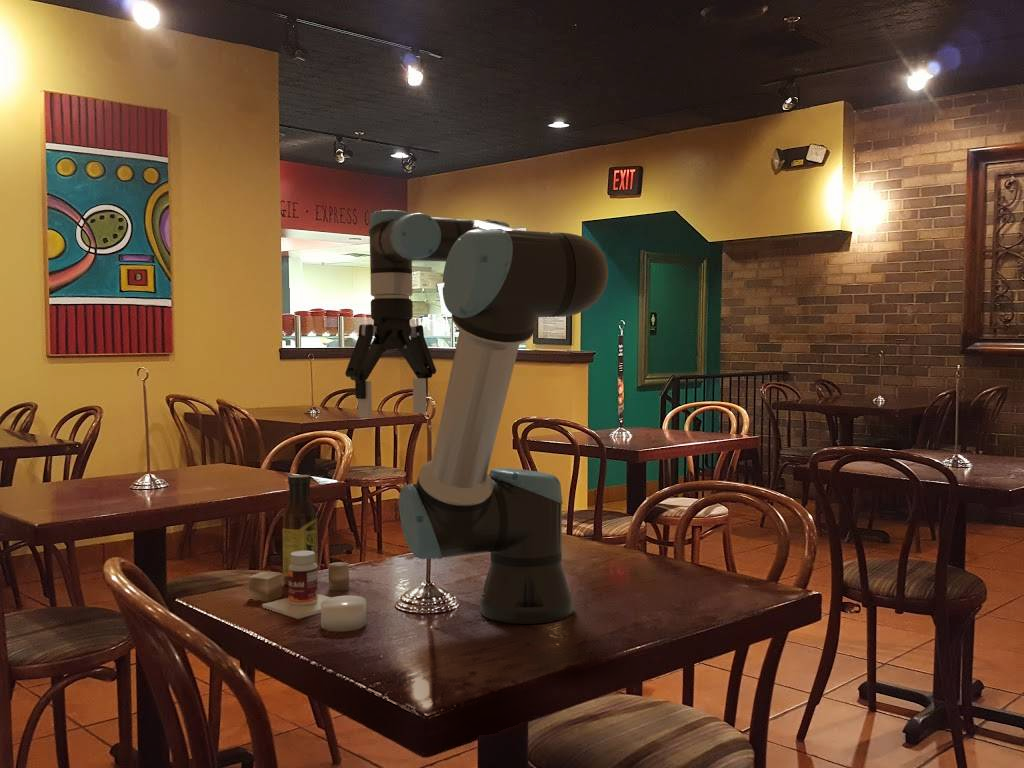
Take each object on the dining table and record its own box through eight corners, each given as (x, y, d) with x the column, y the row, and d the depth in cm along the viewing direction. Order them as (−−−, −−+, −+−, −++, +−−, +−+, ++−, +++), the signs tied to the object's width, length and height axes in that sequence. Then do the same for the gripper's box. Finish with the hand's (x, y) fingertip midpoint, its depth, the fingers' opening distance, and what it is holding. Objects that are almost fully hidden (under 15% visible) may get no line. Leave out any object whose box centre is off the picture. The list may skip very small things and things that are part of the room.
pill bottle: (282, 604, 157) (281, 554, 157) (302, 597, 161) (301, 548, 161) (304, 607, 155) (303, 557, 155) (323, 600, 159) (323, 551, 159)
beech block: (282, 596, 165) (281, 573, 165) (268, 602, 161) (267, 579, 161) (263, 594, 166) (262, 571, 166) (248, 600, 163) (248, 577, 162)
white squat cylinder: (357, 613, 152) (356, 592, 152) (373, 626, 146) (372, 604, 146) (315, 622, 149) (314, 600, 149) (329, 635, 143) (328, 612, 143)
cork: (353, 588, 169) (352, 564, 169) (337, 592, 167) (336, 567, 167) (340, 585, 172) (340, 561, 172) (324, 589, 169) (324, 564, 169)
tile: (347, 605, 158) (347, 602, 158) (297, 618, 151) (297, 615, 151) (311, 595, 165) (311, 591, 165) (262, 607, 157) (262, 604, 157)
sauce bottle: (313, 588, 170) (311, 478, 169) (279, 588, 170) (277, 478, 169) (321, 579, 176) (320, 473, 175) (288, 579, 176) (286, 473, 176)
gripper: (425, 301, 182) (426, 410, 183) (323, 296, 163) (325, 418, 164) (453, 299, 178) (455, 412, 178) (352, 294, 158) (354, 420, 159)
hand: (393, 415), depth 171 cm, fingers open, 13 cm apart
